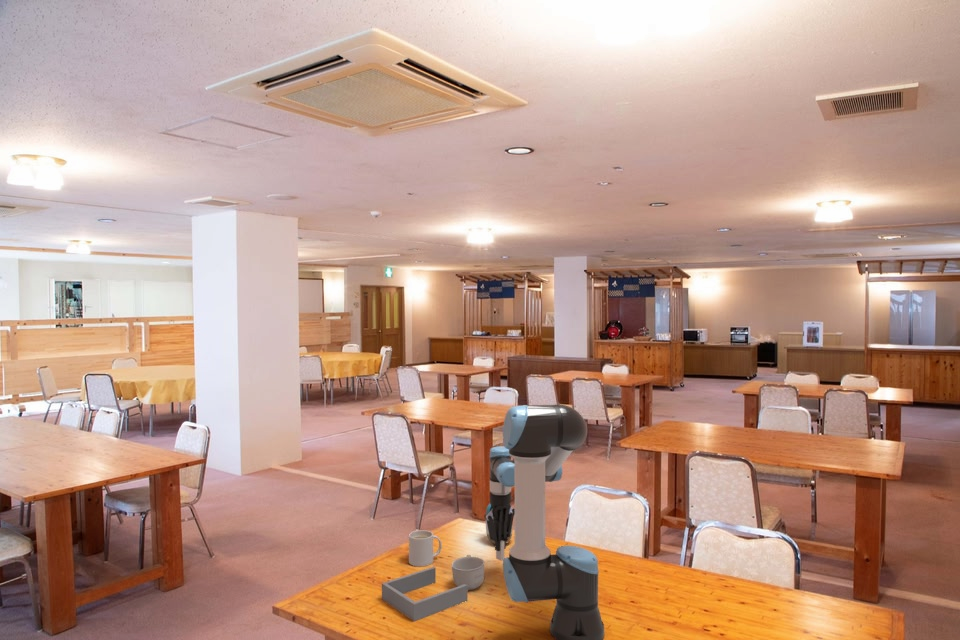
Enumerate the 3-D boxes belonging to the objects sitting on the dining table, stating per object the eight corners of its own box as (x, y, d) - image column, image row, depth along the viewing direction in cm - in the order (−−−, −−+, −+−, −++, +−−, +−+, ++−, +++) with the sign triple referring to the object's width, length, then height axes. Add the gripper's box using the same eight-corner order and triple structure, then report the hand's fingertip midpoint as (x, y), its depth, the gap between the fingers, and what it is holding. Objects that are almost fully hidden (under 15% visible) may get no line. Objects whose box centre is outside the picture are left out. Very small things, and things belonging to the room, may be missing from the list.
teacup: (480, 595, 199) (480, 570, 199) (448, 591, 201) (448, 567, 201) (488, 576, 213) (488, 553, 213) (458, 574, 215) (458, 551, 215)
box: (467, 601, 195) (467, 585, 195) (414, 621, 182) (414, 604, 182) (433, 581, 209) (433, 566, 209) (381, 599, 196) (381, 583, 196)
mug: (404, 565, 223) (404, 537, 222) (415, 555, 232) (415, 528, 232) (433, 568, 219) (433, 540, 219) (442, 558, 228) (442, 531, 228)
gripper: (507, 485, 223) (506, 550, 223) (479, 492, 214) (479, 560, 215) (521, 490, 217) (521, 557, 217) (493, 498, 208) (493, 567, 209)
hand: (500, 558), depth 216 cm, fingers closed
